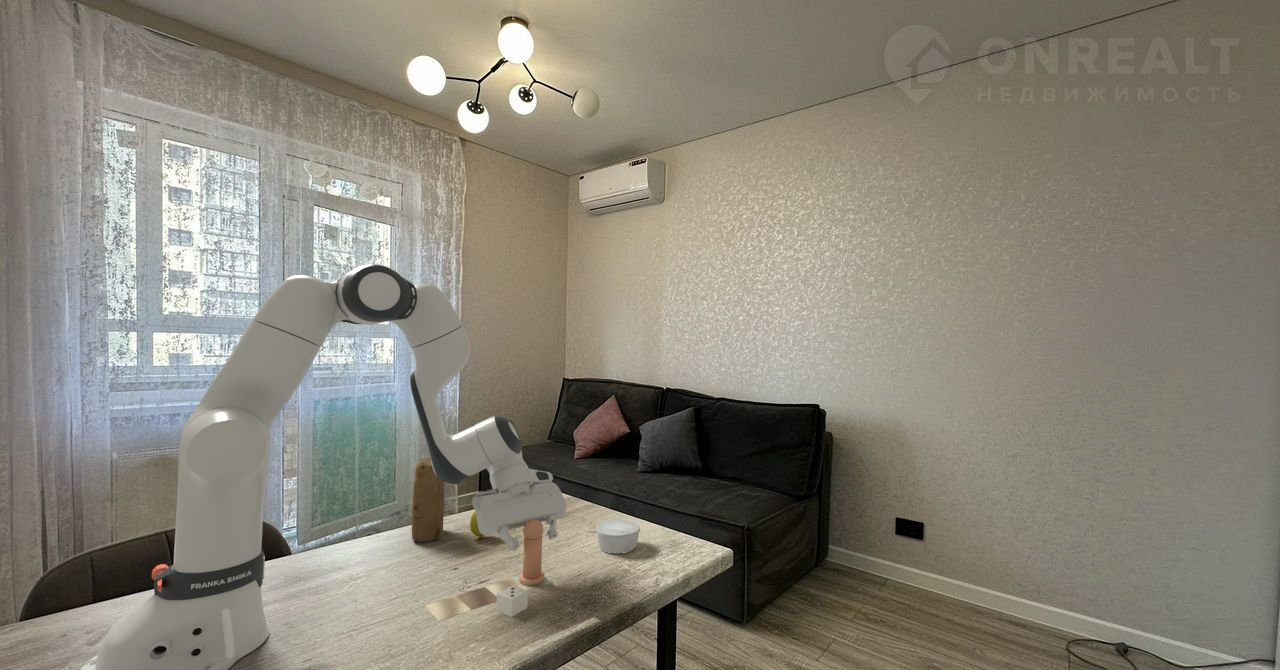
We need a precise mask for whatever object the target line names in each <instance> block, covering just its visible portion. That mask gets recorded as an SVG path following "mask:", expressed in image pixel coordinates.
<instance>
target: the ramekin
mask: <svg viewBox="0 0 1280 670" xmlns="http://www.w3.org/2000/svg"><path fill="white" fill-rule="evenodd" d="M640 532H641V527H640V525H639V524H638V523H637V522H634V521H631V520H626V519H610V520H605V521H602V522H600V523H598V524H597V525H596V527H595V533H596V536H597V545H598V547H599V549H600V550H601V549H602V550H603V551H602V550H601V551H602V552H604V551H606V552H610V553H623V552H629V551H631V550H633V549H634V548H635V549H636V548H637V546H638V540H639V539H638V538H639V534H640ZM635 549H634V550H635ZM634 550H633V551H634ZM606 552H605V553H606ZM610 553H609V554H610ZM629 553H630V552H629Z"/></svg>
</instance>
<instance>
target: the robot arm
mask: <svg viewBox="0 0 1280 670" xmlns="http://www.w3.org/2000/svg"><path fill="white" fill-rule="evenodd" d="M340 322H341V323H346V324H352V325H361V326H362V325H363V326H365V325H366V326H368V325H369V326H372V325H378V324H381V323H385V322H391V323H393V324H395V325H396V326H397V327H398V328H399V329H400V330H401V331H402V333H404V335H405V338H406V340H407V342H408V344H409V346H410V348H411V350H412V352H413V355H414V361H415V362H414V363H415V368H414V370H413V372H412V373H411V374H410V377H409V384H410V390H411V395H412V399H413V403H414V406H415V408H416V412H417V416H418V418H419V422H420V425H421V428H422V431H423V434H424V438H425V441H426V444H427V447H428V452H429V456H430V458H431V463H432V467H433V470H434V472H435V474H436V476H437V477H438V478H439V480H440V481H443V482H445V483H446V484H451V485H459V484H461V483H463V482H464V481H466V480H467V479H469V478H471V477H473V475H475V474H478V473H479V472H481V471H483V470H485V469H486V471H487V472H488V473H489V482H490V484H491V487H492V489H488V490H486V491H478V492H476V494H475V495H473V496H472V497H471V498H472V499H471V504H472V508H473V510H474V512H475V511H476V517H477V523H478V528H479V531H480V533H482V534H483V535H485V536H489V535H494V534H498V538H499V539H501V540H502V541H504V543H506V544H507V546H508V549H509V551H512V550H516V549H517V548H518V547H519V545H520V544H519V541H518V537H517V536H516V537H513V536H512V535H511V534H510V533H509V531H510V530H516V529H519V528H524V526H525V524H526V523H527V522H528V521H530V520H538V521H540V522H541V523H544V522H546V524H547V525H549V529H548V531H547V532H546V535H547V538H548V540H552V539H553V540H554V539H556V538H557V537H558V534H559V533H558V531H557V529H556V528H557V522H558V521H557V520H558V519H561V517H563V515H564V514H565V513H566V512H567V508H568V505H567V502H566V499H565V497H564V495H563V493H562V491H561V489H560V487H559V486H558V485H557V484H556V483H555V482H553V480H554V477H553V474H552V473H551V472H549V471H542V470H537V469H533V468H529V466H528V464H527V463H526V462H525V460H524V458H523V451H522V447H523V442H522V440H521V438H520V436H519V431H518V430H517V427H516V426H515V423H514V422H513V421H512V420H511V419H509V418H506V417H504V416H501V415H494V416H491V417H489V418H486V419H485V420H482V421H480V422H478V423H476V424H474V425H473V426H470V427H468V428H466V429H464V430H461V431H460V432H457V433H454V434H451V435H450V434H448V433H447V431H446V427H445V424H444V421H443V417H442V414H441V411H440V410H441V409H440V407H439V404H438V398H439V395H440V393H441V392H442V391H443V389H444V388H445V387H446V386H447V385H448V384H449V383H450V382H451V381H453V379H455V378H456V376H457V375H459V373H460V372H461V371H462V370H463V369H464V367H465V366H466V364H467V362H468V361H469V359H470V356H471V352H472V351H471V350H472V345H471V341H470V338H469V336H468V334H467V331H466V329H465V327H464V325H463V323H462V321H461V320H460V317H459V315H458V314H457V312H456V311H455V308H454V307H453V306H452V304H451V302H450V301H449V299H447V297H446V295H445V294H444V293H443V292H442V290H441V288H439V287H438V286H436V285H433V284H431V283H418V284H413V283H412V282H411V281H409V280H407V279H406V278H405V277H403V276H402V275H400V274H399V273H398V272H397V271H395V270H393V269H392V268H391V267H388V266H385V265H382V264H378V263H369V264H363V265H360V266H357V267H356V268H353V269H350V270H349V271H347V272H346V273H344V274H343V275H341V276H340V277H338V278H337V279H335V280H334V281H332V282H329V281H324V280H321V279H319V278H317V277H314V276H310V275H296V274H295V275H292V276H289V277H287V278H285V279H284V280H283V281H282V282H281V283H280V284H279V285H278V286H277V287H276V288H275V290H274V291H273V292H272V293H271V294H270V295H269V296H268V297H267V299H266V300H265V301H264V302H263V304H262V305H261V307H260V308H259V310H258V311H257V312H256V313H255V315H254V317H253V318H252V320H251V322H250V323H249V325H248V327H247V328H246V329H245V332H244V333H243V335H242V336H241V338H240V340H239V341H238V343H237V344H236V346H235V348H234V349H233V351H232V352H231V354H230V356H229V357H228V359H227V361H226V362H225V363H224V365H223V366H222V368H221V369H220V371H219V372H218V374H217V376H216V377H215V379H214V380H213V382H212V383H211V385H210V386H209V388H208V389H207V390H206V392H205V393H204V395H203V397H202V398H201V400H200V402H199V403H198V405H197V406H196V408H195V409H194V411H193V412H192V414H191V415H190V417H189V419H188V420H187V422H186V423H185V425H184V427H183V429H182V432H181V438H180V441H179V447H178V448H179V449H178V463H177V464H178V467H177V490H176V513H175V529H174V530H175V531H174V532H175V533H174V549H173V564H172V565H169V566H168V564H165V563H161V564H158V565H156V566H155V567H154V568H153V569H152V571H151V579H152V580H153V581H154V583H153V585H154V586H153V593H154V594H153V595H151V596H150V597H149V598H147V599H146V600H145V601H144V602H142V603H140V604H139V605H138V606H137V607H135V608H133V609H132V610H131V611H129V613H127V614H126V615H124V616H123V617H122V618H120V619H119V620H117V621H116V622H115V623H114V624H113V625H112V626H111V628H110V629H109V630H108V632H107V633H106V635H105V636H104V639H103V640H102V643H101V645H100V647H99V650H98V652H97V654H96V655H95V656H93V657H92V658H91V659H89V660H88V661H87V662H86V663H85V664H83V666H82V667H81V668H79V670H229V669H230V668H231V667H232V666H233V665H234V664H235V663H236V662H237V661H239V660H240V659H242V658H244V657H245V656H246V655H248V654H250V653H251V652H253V651H255V650H257V648H259V647H260V646H261V645H262V644H263V643H264V642H265V641H266V640H267V639H268V637H269V636H270V629H269V626H268V623H267V620H266V616H265V612H264V606H263V597H262V586H263V582H264V579H265V567H266V566H265V562H266V561H265V560H266V558H265V557H266V556H265V552H264V549H263V548H262V543H263V542H262V540H263V521H264V507H265V506H264V505H265V497H266V496H265V494H266V490H267V489H266V488H267V481H268V472H269V460H270V453H271V452H270V450H271V435H270V431H269V430H270V429H271V427H272V425H273V424H274V423H275V421H276V419H277V418H278V416H279V414H280V413H281V412H282V410H283V408H284V407H285V406H286V404H287V403H288V402H289V401H290V399H291V397H293V395H294V394H295V392H296V391H297V390H298V389H299V387H300V385H301V384H302V382H303V380H304V378H305V376H306V374H307V373H308V371H309V369H310V368H311V366H312V364H313V362H314V361H315V358H316V357H317V355H318V354H319V352H320V349H321V348H322V346H323V344H324V342H325V340H326V338H327V336H328V335H329V334H330V332H331V331H332V330H333V328H334V327H335V326H336V325H337V324H339V323H340ZM485 536H484V537H485ZM92 663H96V664H94V665H90V664H92Z"/></svg>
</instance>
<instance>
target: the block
mask: <svg viewBox="0 0 1280 670" xmlns="http://www.w3.org/2000/svg"><path fill="white" fill-rule="evenodd" d="M445 483H446V482H443V481H440V480H439V478H438V477H437V476H436V474H435V472H434V470H433V467H432V463H431V457H428V458H421V459H420V460H419V461H418V462H417V464H416V466H415V471H414V479H413V488H412V489H413V490H412V492H413V493H412V502H411V503H412V507H411V538H412V540H413V541H415V542H418V541H419V542H422V543H425V542H426V543H427V542H433V541H437V540H438V539H441V538H442V536H443V531H444V518H445V517H444V516H445V515H444V513H445V485H446V484H445ZM419 542H418V543H419Z"/></svg>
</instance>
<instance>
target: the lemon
mask: <svg viewBox="0 0 1280 670" xmlns="http://www.w3.org/2000/svg"><path fill="white" fill-rule="evenodd" d="M469 525H470V526H469V527H470V531H471V533H472V534H473V535H474V536H476V537H478V538H479V539H483V538H484V537H485V535H483V534H482V533H480V531H479V528H478V523H477V517H476V511H475V510H474V512H473V513H472V515H471V517H470V522H469Z"/></svg>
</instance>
